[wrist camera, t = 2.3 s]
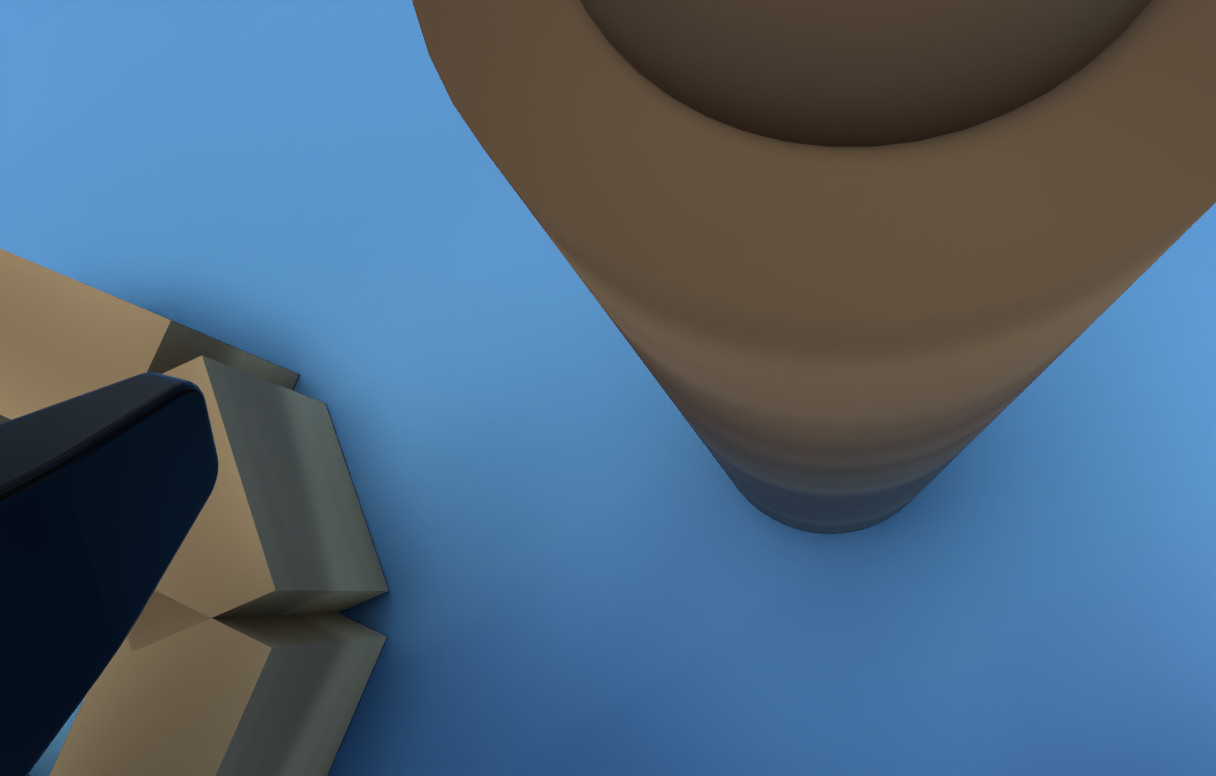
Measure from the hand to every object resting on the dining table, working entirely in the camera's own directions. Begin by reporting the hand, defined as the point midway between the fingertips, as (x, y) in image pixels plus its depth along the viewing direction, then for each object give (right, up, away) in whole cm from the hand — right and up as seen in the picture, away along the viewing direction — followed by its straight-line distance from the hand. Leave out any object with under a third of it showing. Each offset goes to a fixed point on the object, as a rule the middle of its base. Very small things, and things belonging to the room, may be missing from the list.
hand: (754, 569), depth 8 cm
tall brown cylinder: (+2, +1, +10) cm, 10 cm away
